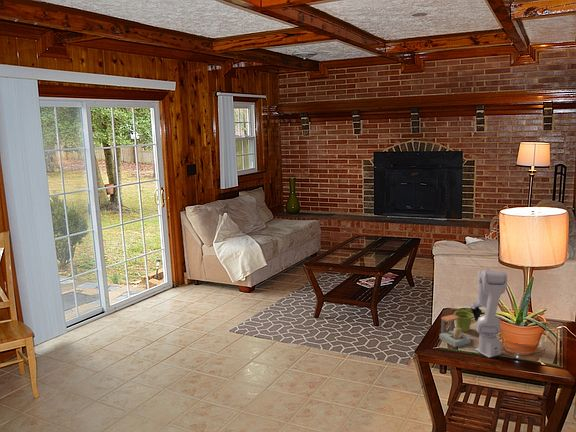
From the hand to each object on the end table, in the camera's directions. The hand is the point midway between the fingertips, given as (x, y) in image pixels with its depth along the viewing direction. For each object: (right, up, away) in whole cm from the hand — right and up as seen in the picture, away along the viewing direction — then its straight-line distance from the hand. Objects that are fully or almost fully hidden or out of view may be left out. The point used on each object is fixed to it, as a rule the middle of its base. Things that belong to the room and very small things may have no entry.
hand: (482, 319), depth 259 cm
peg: (-13, -11, -2) cm, 17 cm away
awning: (-15, -9, +6) cm, 19 cm away
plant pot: (-6, -8, +12) cm, 16 cm away
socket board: (-14, -11, 0) cm, 18 cm away
